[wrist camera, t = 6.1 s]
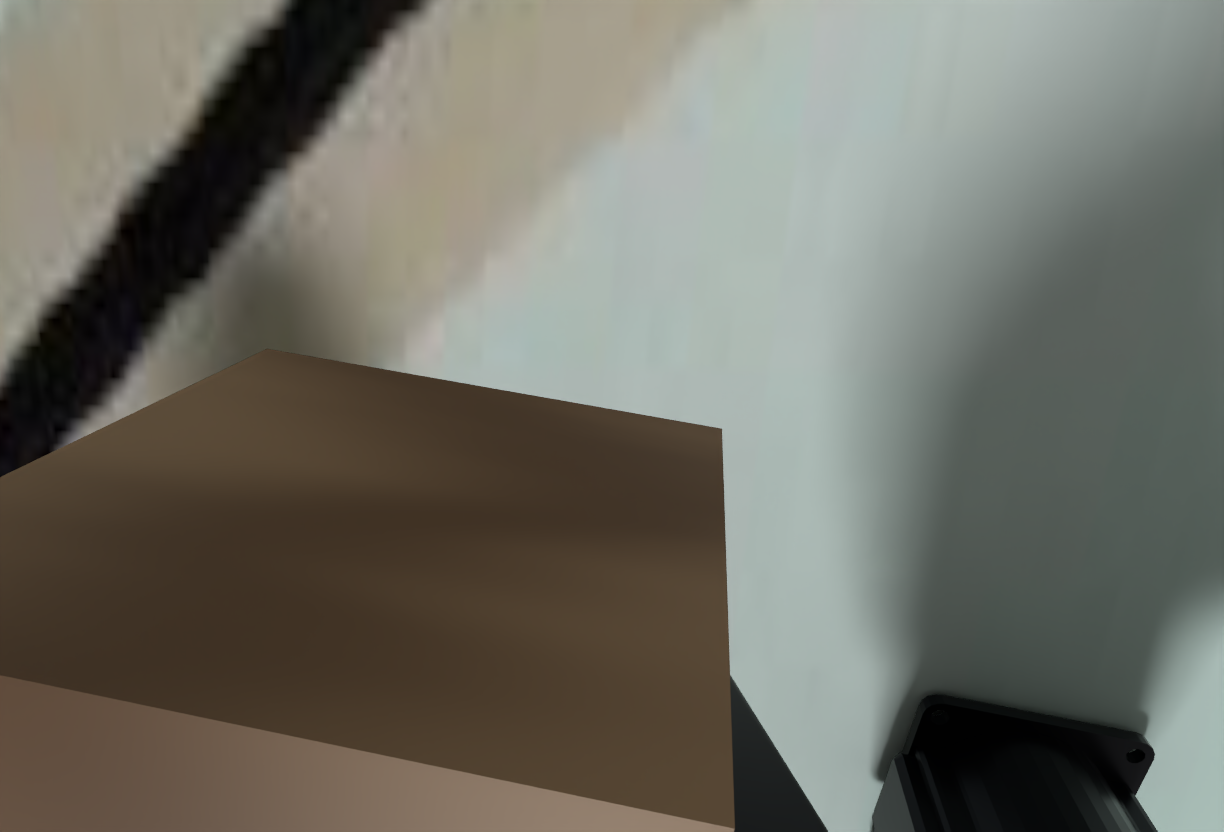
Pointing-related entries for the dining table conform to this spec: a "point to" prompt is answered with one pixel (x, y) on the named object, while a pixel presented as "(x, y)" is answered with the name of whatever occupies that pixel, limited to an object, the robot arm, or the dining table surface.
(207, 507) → the walnut cube
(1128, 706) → the dining table surface
